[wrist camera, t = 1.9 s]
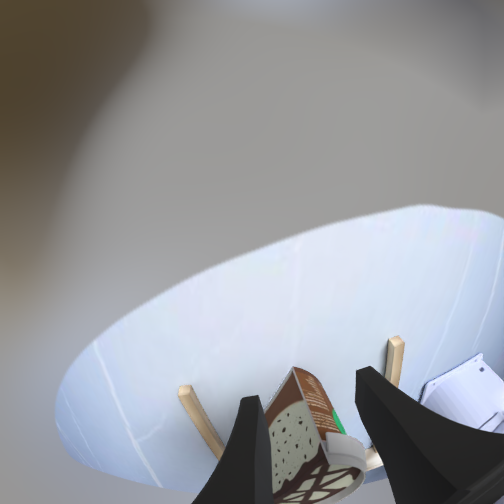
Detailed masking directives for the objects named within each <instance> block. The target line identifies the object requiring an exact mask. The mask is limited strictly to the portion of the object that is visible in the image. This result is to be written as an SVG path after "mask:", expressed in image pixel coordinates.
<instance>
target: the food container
mask: <svg viewBox="0 0 504 504" xmlns="http://www.w3.org/2000/svg"><path fill="white" fill-rule="evenodd" d="M264 414H265V417H266V420H267V423H268V429H269V435H270V441H271V456H272V488H273V499H274V504H335V503H337V502H339V501H341V500H343V499H345V498H346V497H348V496H349V495H351V494H352V493H354V492H355V491H356V490H357V489H358V488H359V487H360V486H361V485H362V484H363V482H364V480H365V478H366V476H365V473H366V471H367V463H366V454H365V448H364V446H363V444H362V443H361V442H360V441H359V440H357V439H356V438H353V437H351V436H348V435H347V434H346V432H345V430H344V428H343V426H342V424H341V422H340V420H339V418H338V416H337V414H336V412H335V410H334V408H333V406H332V404H331V402H330V400H329V398H328V396H327V394H326V392H325V391H324V389H323V387H322V385H321V383H320V382H319V380H318V379H317V378H316V377H315V376H314V375H312V374H311V373H309V372H308V371H305V370H303V369H301V368H297V367H294V366H293V367H292V368H291V370H290V372H289V373H288V375H287V376H286V378H285V380H284V381H283V383H282V384H281V386H280V387H279V389H278V390H277V392H276V393H275V395H274V397H273V398H272V400H271V401H270V402H269V404H268V405H267V407H266V408H265V410H264Z"/></svg>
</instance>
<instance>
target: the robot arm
mask: <svg viewBox="0 0 504 504" xmlns="http://www.w3.org/2000/svg"><path fill="white" fill-rule="evenodd" d="M482 358H483V354H482V353H480V354H478V355H477V356H475V357H473V358H472V359H470V360H468V361H467V362H465V363H463V364H462V365H460V366H458V367H456V368H455V369H453V370H451V371H449V372H447V373H445V374H444V375H442V376H440V377H438V378H436V379H434V380H432V381H430V382H428V383H427V384H426V385H425V389H424V392H423V395H422V399H421V402H420V403H418V402H417V401H415V400H414V399H412V398H411V397H409V396H408V395H407V394H405V393H404V392H402V391H401V390H400V389H398V388H397V387H396V386H394V385H393V384H392V383H391V382H389V381H388V380H387V379H386V378H384V377H383V376H382V375H381V374H380V373H379V372H377V371H376V370H375V369H374V368H373V367H371V366H368V367H365V368H362V369H359V370H356V391H355V403H356V406H357V409H358V412H359V415H360V417H361V420H362V423H363V425H364V427H365V429H366V431H367V433H368V435H369V437H370V438H371V440H372V442H373V444H374V446H375V448H376V450H377V452H378V454H379V456H380V458H381V460H382V463H383V465H384V467H385V470H386V473H387V476H388V479H389V482H390V485H391V488H392V492H393V495H394V498H395V502H396V504H504V382H503V381H502V380H501V379H500V378H499V376H498V375H497V374H496V373H495V372H494V371H493V370H492V369H491V368H490V367H489V366H488V365H487V364H486V363H485V362H484V361H483V360H482ZM192 504H274V499H273V488H272V456H271V441H270V435H269V429H268V423H267V420H266V417H265V414H264V411H263V408H262V405H261V402H260V399H259V396H258V395H255V396H250V397H243V398H242V399H241V401H240V406H239V410H238V414H237V418H236V421H235V424H234V427H233V430H232V433H231V435H230V438H229V441H228V443H227V445H226V448H225V450H224V452H223V454H222V456H221V458H220V461H219V463H218V464H217V466H216V468H215V470H214V472H213V473H212V475H211V477H210V478H209V480H208V482H207V483H206V485H205V486H204V487H203V489H202V490H201V492H200V493H199V495H198V496H197V497H196V499H195V500H194V501H193V502H192Z"/></svg>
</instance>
